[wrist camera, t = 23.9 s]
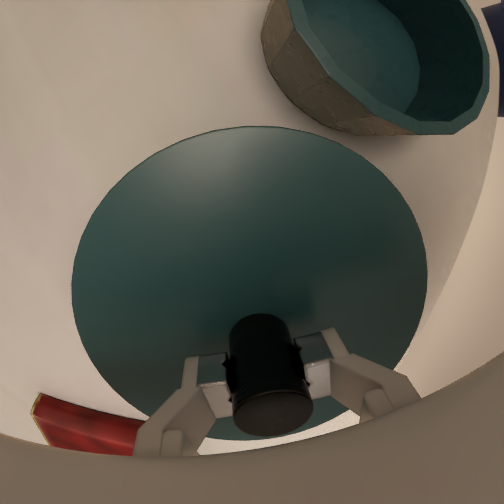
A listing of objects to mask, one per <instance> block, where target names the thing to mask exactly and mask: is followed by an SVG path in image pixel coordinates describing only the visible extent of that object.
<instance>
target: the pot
mask: <svg viewBox="0 0 504 504" xmlns="http://www.w3.org/2000/svg"><path fill="white" fill-rule="evenodd" d="M261 39H262V45H263V52H264V56H265V59H266V62H267V65H268V69H269V70H270V72H271V74H272V76H273V77H274V79H275V81H276V82H277V84H278V86H279V87H280V88H281V89H282V91H283V92H284V93H285V95H286V96H287V97H288V98H289V99H290V100H291V101H292V102H293V103H294V104H295V105H296V106H297V107H299V108H300V109H301V110H302V111H303V112H305V113H306V114H307V115H309V116H310V117H312V118H313V119H315V120H317V121H319V122H320V123H321V124H323V125H326V126H329V127H331V128H334V129H336V130H339V131H343V132H347V133H351V134H354V135H452V134H455V133H457V132H458V131H460V130H461V129H462V128H464V127H465V126H467V125H468V124H470V123H471V122H472V121H474V120H475V119H477V117H478V116H479V113H480V111H481V109H482V107H483V104H484V102H485V100H486V97H487V95H488V92H489V78H490V66H489V53H488V50H487V46H486V43H485V40H484V37H483V34H482V31H481V28H480V25H479V22H478V20H477V18H476V17H475V15H474V13H473V12H472V10H471V8H470V7H469V5H468V3H467V2H466V0H271V1H270V3H269V6H268V9H267V13H266V17H265V21H264V24H263V28H262V32H261Z"/></svg>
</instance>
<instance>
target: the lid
mask: <svg viewBox="0 0 504 504" xmlns="http://www.w3.org/2000/svg"><path fill="white" fill-rule="evenodd" d="M71 286H72V307H73V312H74V318H75V323H76V327H77V329H78V332H79V335H80V338H81V341H82V344H83V346H84V348H85V350H86V352H87V354H88V356H89V358H90V359H91V361H92V363H93V364H94V366H95V367H96V369H97V370H98V372H99V373H100V374H101V376H102V377H103V378H104V379H105V381H106V382H107V383H108V384H109V385H110V386H111V387H112V388H113V389H114V390H115V391H116V392H117V393H118V394H119V395H120V396H121V397H122V398H123V399H125V400H126V401H127V402H128V403H129V404H131V405H132V406H134V407H135V408H136V409H138V410H139V411H141V412H142V413H144V414H146V415H147V416H149V417H151V416H152V415H153V414H154V413H155V412H156V411H157V410H158V409H159V408H160V407H161V406H162V404H163V403H164V402H165V401H166V400H167V399H168V398H169V397H170V396H171V395H172V394H173V393H174V392H175V391H176V390H177V389H181V384H182V377H183V370H184V363H185V359H186V358H187V357H194V356H201V355H208V354H215V353H222V352H227V354H228V356H229V359H230V377H231V396H232V414H233V416H229V417H222V418H216V421H215V422H214V424H213V426H212V427H211V429H210V430H209V432H208V434H207V435H206V437H208V438H214V439H223V440H246V441H247V440H262V439H270V438H276V437H282V436H286V435H290V434H294V433H298V432H301V431H304V430H307V429H310V428H313V427H316V426H318V425H320V424H322V423H325V422H327V421H329V420H331V419H333V418H335V417H337V416H339V415H340V414H342V413H344V412H346V411H347V410H349V408H347V407H346V406H344V405H343V404H341V403H340V402H338V401H337V400H336V399H334V398H333V397H331V395H329V396H326V397H322V398H317V399H313V400H312V398H311V395H310V392H309V389H308V386H307V383H306V380H305V378H304V375H303V372H302V369H301V365H300V362H299V359H298V357H297V354H296V351H295V348H294V342H293V338H296V337H300V336H304V335H308V334H312V333H316V332H320V331H322V330H325V329H329V328H332V327H333V328H335V330H336V331H337V333H338V335H339V337H340V338H341V340H342V342H343V344H344V345H345V347H346V349H347V351H348V353H349V354H353V353H354V354H356V355H358V356H361V357H363V358H365V359H367V360H370V361H372V362H374V363H377V364H379V365H381V366H384V367H386V368H389V369H391V370H393V369H394V368H395V367H396V365H397V364H398V363H399V361H400V360H401V358H402V357H403V355H404V353H405V352H406V350H407V348H408V347H409V345H410V343H411V341H412V339H413V337H414V335H415V332H416V330H417V328H418V325H419V322H420V319H421V316H422V312H423V308H424V303H425V298H426V292H427V261H426V252H425V247H424V243H423V239H422V236H421V232H420V229H419V227H418V224H417V222H416V220H415V217H414V215H413V213H412V211H411V209H410V208H409V206H408V204H407V203H406V201H405V200H404V198H403V196H402V195H401V193H400V192H399V191H398V189H397V188H396V187H395V186H394V185H393V184H392V183H391V181H390V180H389V179H388V178H387V177H386V176H385V175H384V174H383V173H382V172H381V171H380V170H379V169H377V168H376V167H375V166H374V165H372V164H371V163H370V162H369V161H367V160H366V159H365V158H364V157H362V156H361V155H359V154H357V153H355V152H354V151H352V150H350V149H348V148H347V147H345V146H343V145H341V144H339V143H337V142H335V141H332V140H329V139H327V138H324V137H321V136H318V135H315V134H313V133H309V132H305V131H300V130H294V129H289V128H283V127H272V126H242V127H234V128H227V129H220V130H213V131H210V132H206V133H203V134H200V135H196V136H193V137H190V138H187V139H184V140H181V141H179V142H177V143H175V144H173V145H171V146H169V147H167V148H165V149H163V150H161V151H159V152H157V153H155V154H153V155H152V156H150V157H149V158H147V159H146V160H144V161H143V162H142V163H140V164H139V165H137V166H136V167H135V168H133V169H132V170H130V171H129V172H128V173H127V174H126V175H125V176H124V177H123V178H122V179H121V180H120V181H119V182H118V183H117V184H116V185H115V186H114V187H113V188H112V189H111V190H110V191H109V192H108V193H107V195H106V196H105V197H104V199H103V200H102V201H101V203H100V204H99V206H98V207H97V208H96V210H95V211H94V213H93V214H92V216H91V218H90V220H89V222H88V224H87V226H86V228H85V230H84V232H83V234H82V237H81V240H80V243H79V246H78V249H77V253H76V256H75V260H74V266H73V274H72V283H71Z"/></svg>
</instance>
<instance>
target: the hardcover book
mask: <svg viewBox="0 0 504 504" xmlns="http://www.w3.org/2000/svg"><path fill="white" fill-rule="evenodd" d="M30 414H31V416H32V417H33V419H34V421H35V423H36V425H37V426H38V428H39V430H40V432H41V433H42V435H43V437H44V438H45V440H46V441H47V443H48V445H49V446H52V447H57V448H63V449H68V450H75V451H82V452H89V453H98V454H108V455H120V456H132V455H133V450H134V446H135V441H136V436H137V432H138V429H139V428H140V427H141V426H142V425H143V424H144V423H145V422H144V421H139V420H134V419H129V418H124V417H119V416H115V415H111V414H106V413H102V412H98V411H95V410H91V409H87V408H84V407H80V406H77V405H73V404H70V403H67V402H64V401H61V400H58V399H55V398H52V397H49V396H46V395H43V394H39V396H38V397H37V398H36V400H35V402H34V404H33V406H32V409H31V413H30Z"/></svg>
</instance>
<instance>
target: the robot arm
mask: <svg viewBox="0 0 504 504" xmlns="http://www.w3.org/2000/svg"><path fill="white" fill-rule="evenodd" d="M293 342H294V348H295V351H296V354H297V357H298V359H299V362H300V365H301V369H302V372H303V375H304V378H305V380H306V383H307V386H308V389H309V392H310V395H311V398H312V400H313V399H317V398H322V397H326V396H329V395H331V397H333V398H334V399H336V400H337V401H338V402H340V403H341V404H343V405H344V406H346V407H347V408H349V409H350V410H351V411H353V412H354V413H356V414H357V415H359V416H360V421H359V424H356V425H353V426H350V427H347V428H344V429H341V430H337V431H334V432H330V433H327V434H323V435H320V436H316V437H312V438H308V439H304V440H300V441H295V442H291V443H286V444H281V445H276V446H271V447H265V448H259V449H253V450H246V451H239V452H231V453H222V454H212V455H199V454H198V452H197V449H198V448H199V446H200V445H201V443H202V442H203V440H204V438H205V437H206V435H207V434H208V432H209V430H210V429H211V427H212V426H213V424H214V422H215V421H216V418H222V417H229V416H233V414H232V396H231V377H230V359H229V356H228V354H227V352H222V353H215V354H208V355H201V356H194V357H187V358H186V359H185V363H184V370H183V377H182V384H181V389H177V390H176V391H175V392H174V393H173V394H172V395H171V396H170V397H169V398H168V399H167V400H166V401H165V402H164V403H163V404H162V406H161V407H160V408H159V409H158V410H157V411H156V412H155V413H154V414H153V415H152V416H151V417H150V418H149V419H148V420H147V421H146V422H145V423H144V424H143V425H142V426H141V427H140V428H139V429H138V432H137V436H136V441H135V446H134V450H133V455H132V456H120V455H108V454H98V453H89V452H82V451H75V450H68V449H63V448H57V447H52V446H47V445H42V444H38V443H34V442H30V441H26V440H22V439H18V438H14V437H11V436H8V435H5V434H2V433H0V504H504V352H502V353H501V354H499V355H498V356H496V357H495V358H493V359H492V360H490V361H489V362H487V363H486V364H484V365H482V366H481V367H479V368H477V369H476V370H474V371H473V372H471V373H469V374H468V375H466V376H464V377H462V378H460V379H459V380H457V381H455V382H453V383H451V384H450V385H448V386H446V387H444V388H442V389H440V390H438V391H436V392H434V393H432V394H430V395H428V396H426V397H424V398H422V399H421V397H420V396H419V394H418V393H417V391H416V390H415V388H414V387H413V386H412V384H411V382H410V381H409V379H408V378H407V376H405V375H403V374H400V373H398V372H396V371H393V370H391V369H389V368H386V367H384V366H381V365H379V364H377V363H374V362H372V361H370V360H367V359H365V358H363V357H361V356H358V355H356V354H354V353H353V354H349V353H348V351H347V349H346V347H345V345H344V344H343V342H342V340H341V338H340V337H339V335H338V333H337V331H336V330H335V328H333V327H332V328H329V329H325V330H322V331H320V332H316V333H312V334H308V335H304V336H300V337H296V338H293Z"/></svg>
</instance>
